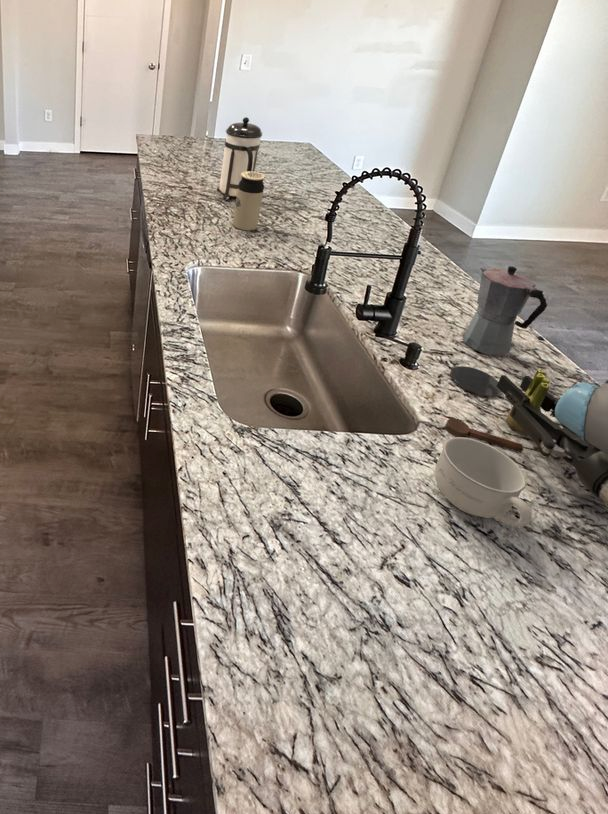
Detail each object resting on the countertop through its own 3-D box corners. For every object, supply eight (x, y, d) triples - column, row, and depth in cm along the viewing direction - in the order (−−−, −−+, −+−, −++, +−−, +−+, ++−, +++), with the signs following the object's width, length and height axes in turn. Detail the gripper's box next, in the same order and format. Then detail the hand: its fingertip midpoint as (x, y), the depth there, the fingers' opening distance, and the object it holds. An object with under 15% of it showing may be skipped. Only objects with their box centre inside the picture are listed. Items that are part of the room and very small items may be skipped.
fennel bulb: (512, 414, 103) (536, 364, 98) (542, 430, 99) (568, 379, 94) (498, 425, 100) (522, 375, 95) (529, 443, 96) (555, 391, 91)
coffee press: (205, 194, 205) (215, 116, 192) (229, 185, 215) (240, 110, 202) (244, 208, 193) (257, 126, 180) (267, 198, 203) (282, 119, 190)
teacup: (415, 468, 90) (430, 433, 87) (480, 471, 90) (497, 436, 87) (464, 547, 78) (483, 509, 74) (539, 551, 78) (562, 513, 74)
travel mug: (255, 222, 182) (264, 172, 175) (257, 232, 175) (267, 180, 167) (231, 220, 183) (239, 170, 176) (233, 229, 176) (241, 177, 169)
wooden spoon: (518, 443, 96) (521, 438, 96) (522, 457, 93) (525, 452, 93) (444, 420, 101) (446, 415, 100) (446, 433, 98) (448, 428, 97)
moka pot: (471, 324, 130) (500, 251, 122) (535, 363, 117) (573, 285, 109) (441, 330, 127) (469, 256, 119) (504, 371, 114) (540, 291, 106)
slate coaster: (497, 376, 113) (498, 374, 113) (504, 403, 105) (505, 401, 105) (448, 363, 116) (449, 361, 116) (452, 388, 109) (452, 386, 109)
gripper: (557, 502, 82) (462, 395, 103) (665, 504, 82) (548, 397, 103) (577, 467, 79) (475, 364, 100) (689, 469, 79) (564, 366, 100)
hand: (512, 381), depth 102 cm, fingers closed on fennel bulb, 4 cm apart
